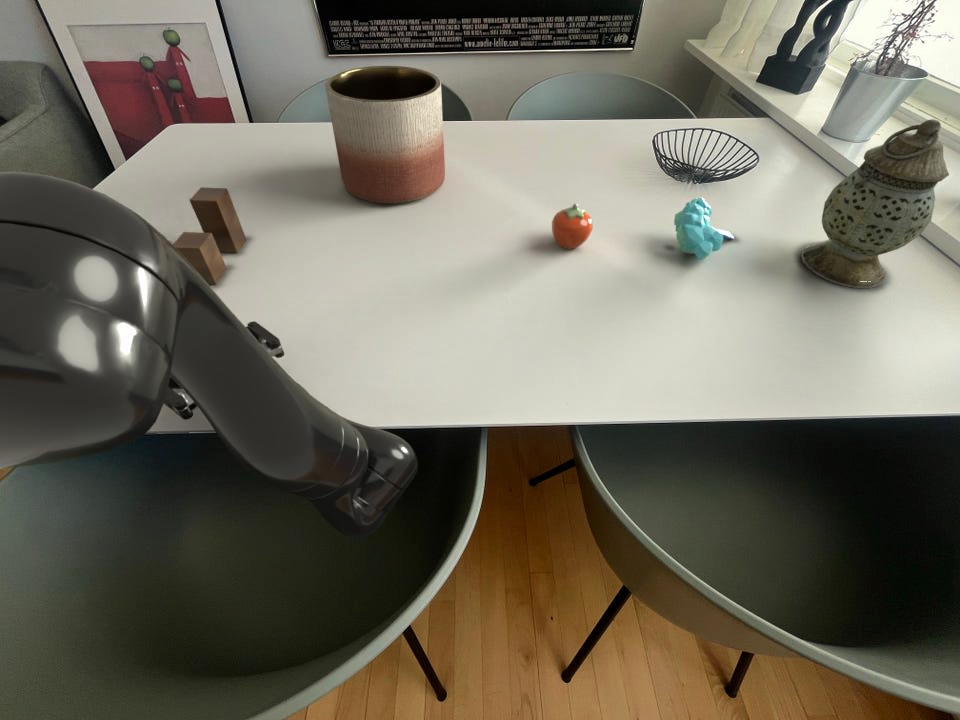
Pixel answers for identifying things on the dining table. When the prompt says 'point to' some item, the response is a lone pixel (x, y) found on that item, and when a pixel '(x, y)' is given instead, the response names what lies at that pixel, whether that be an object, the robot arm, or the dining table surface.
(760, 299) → the dining table surface
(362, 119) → the planter
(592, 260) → the dining table surface
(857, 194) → the lantern
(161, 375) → the robot arm
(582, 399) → the dining table surface
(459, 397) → the dining table surface
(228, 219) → the block far
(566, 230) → the tomato
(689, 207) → the turquoise faceted lumpy piece
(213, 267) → the block near
